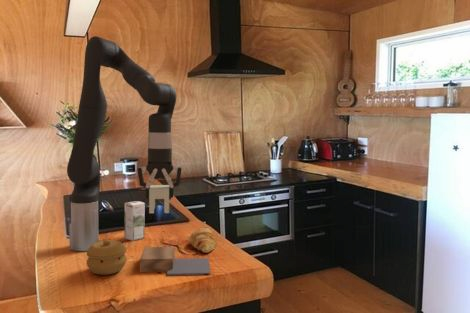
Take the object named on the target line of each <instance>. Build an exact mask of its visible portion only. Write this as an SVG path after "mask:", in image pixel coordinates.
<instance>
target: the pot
mask: <svg viewBox="0 0 470 313" xmlns="http://www.w3.org/2000/svg"><path fill="white" fill-rule="evenodd" d="M126 253H127V247H126V245H125V244H124V243H122V242H121V241H120V240H119V241H118V240H116V239H115V240H112V239H111V240H109V239H104V240H99V242H96V243H94V244H93V245H91V246H90V247H89V249H88V250H87V251H86V256H87V257H88V259H86V266H87V267H88V269H89V270H90V271H91V272H92V273H94V274H96V275H103V276H104V275H105V276H107V275H114V274H116V273H118V272H119V271H121V270H122V269H123V268H124V267H125V265H126V262H127V259H128V258H127V255H126Z"/></svg>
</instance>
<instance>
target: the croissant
mask: <svg viewBox="0 0 470 313" xmlns="http://www.w3.org/2000/svg"><path fill="white" fill-rule="evenodd" d="M188 241H189V243H190V245H192V246H191V247H193V248H194V249H196V248H197V250H198V251H200V252H202V253H204V254H205V253H210V252H212V251H213V250H214V249H215V247H216V246H217V237H216V234H215V232H214V231H213V230H212V229H209V228H208V227H202V228H197V229H196V230H195V231H193V232H192V233H191V234H190V236H189V238H188Z"/></svg>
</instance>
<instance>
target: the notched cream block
mask: <svg viewBox="0 0 470 313" xmlns="http://www.w3.org/2000/svg"><path fill="white" fill-rule="evenodd" d="M169 187H170V186H169V184H162V185H161V184H160V185H159V184H158V185H157V184H155V185H154V184H151V185H150V189H149V200H148V201H149V202H148V208H149V209H148V214H155V209H156V200H164V201H163V203H164V207H163V208H164V214H170V200H169Z"/></svg>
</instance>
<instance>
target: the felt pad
mask: <svg viewBox="0 0 470 313" xmlns="http://www.w3.org/2000/svg"><path fill="white" fill-rule="evenodd" d="M210 268H211V267H210V258H209V257H206V258H205V257H203V258H200V257H198V258H196V257H195V258H194V257H193V258H175V259H174V264H173V269H168V271H166V276H167V277H168V276H170V277H171V276H205V275H204V274H210V275H211V269H210Z"/></svg>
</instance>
